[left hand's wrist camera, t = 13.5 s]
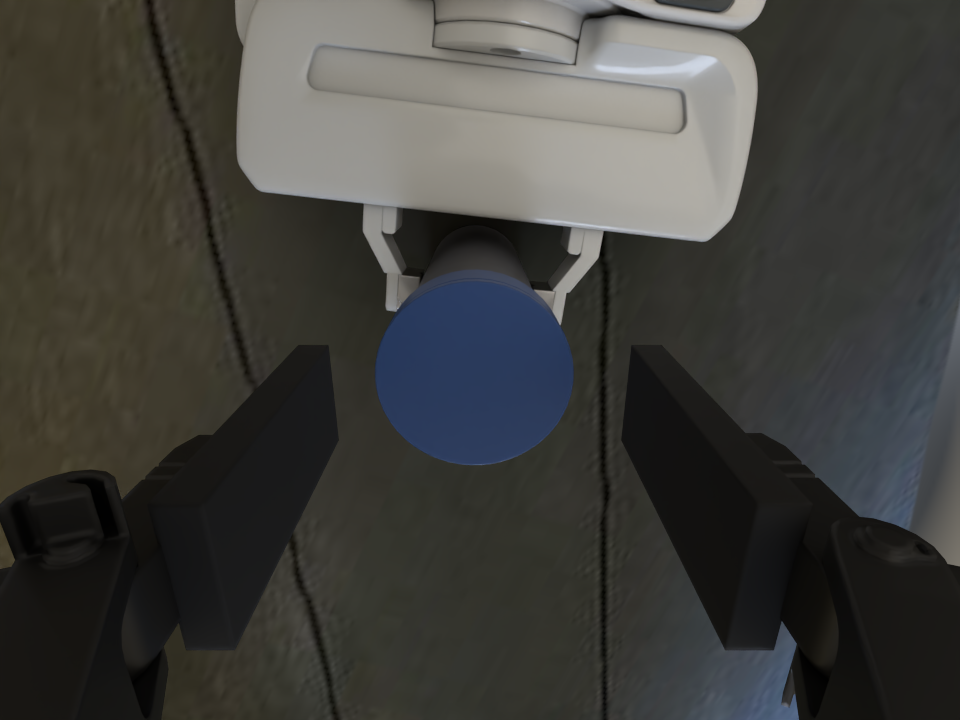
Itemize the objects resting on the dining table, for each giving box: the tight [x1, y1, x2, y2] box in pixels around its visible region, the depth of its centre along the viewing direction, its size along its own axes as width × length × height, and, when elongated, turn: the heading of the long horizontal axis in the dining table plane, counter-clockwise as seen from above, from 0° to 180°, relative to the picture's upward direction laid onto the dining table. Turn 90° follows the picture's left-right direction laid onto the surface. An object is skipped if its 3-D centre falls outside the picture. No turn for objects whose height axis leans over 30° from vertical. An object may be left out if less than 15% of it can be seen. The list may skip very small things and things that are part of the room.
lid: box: [375, 270, 574, 465], centre depth 16 cm, size 6×6×2 cm
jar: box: [418, 225, 532, 289], centre depth 23 cm, size 5×5×16 cm
